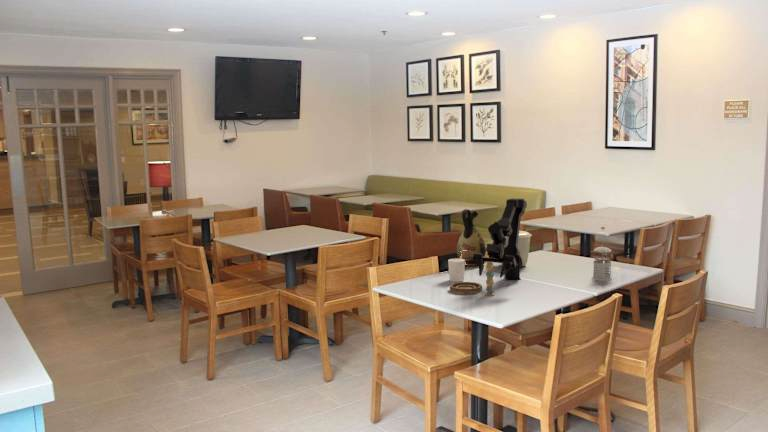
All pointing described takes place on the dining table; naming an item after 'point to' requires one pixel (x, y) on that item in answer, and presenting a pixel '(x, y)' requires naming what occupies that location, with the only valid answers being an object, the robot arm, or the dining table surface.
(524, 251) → the canister
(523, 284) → the dining table surface
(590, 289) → the dining table surface
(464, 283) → the groove tray
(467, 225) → the ceramic jug
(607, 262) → the french press
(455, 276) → the white cup
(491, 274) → the post
